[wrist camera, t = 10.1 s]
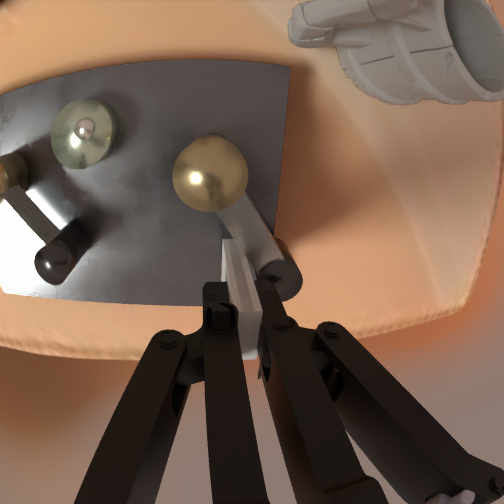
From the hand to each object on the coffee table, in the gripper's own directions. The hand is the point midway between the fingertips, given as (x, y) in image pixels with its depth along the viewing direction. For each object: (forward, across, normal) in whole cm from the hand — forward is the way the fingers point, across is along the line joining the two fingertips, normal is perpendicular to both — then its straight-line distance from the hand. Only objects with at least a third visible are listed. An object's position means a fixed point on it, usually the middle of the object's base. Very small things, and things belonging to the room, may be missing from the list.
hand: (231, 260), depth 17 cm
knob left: (+2, -15, +6) cm, 16 cm away
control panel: (+4, -9, +4) cm, 10 cm away
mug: (+3, +8, +14) cm, 17 cm away
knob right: (+2, -1, +6) cm, 6 cm away
